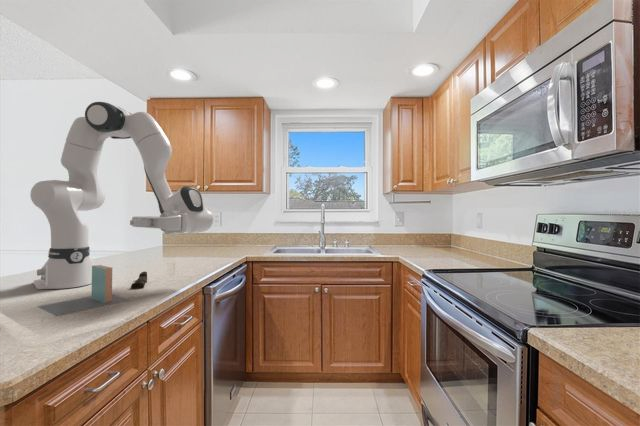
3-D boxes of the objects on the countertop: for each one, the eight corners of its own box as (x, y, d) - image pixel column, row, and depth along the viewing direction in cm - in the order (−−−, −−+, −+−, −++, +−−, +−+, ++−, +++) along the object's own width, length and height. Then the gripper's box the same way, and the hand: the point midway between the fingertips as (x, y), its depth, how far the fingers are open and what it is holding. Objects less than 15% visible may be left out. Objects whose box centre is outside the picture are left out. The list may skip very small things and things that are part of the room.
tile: (91, 298, 96) (91, 265, 96) (99, 297, 98) (99, 265, 98) (104, 302, 92) (104, 268, 92) (111, 301, 94) (112, 267, 94)
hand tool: (143, 293, 110) (143, 280, 110) (130, 294, 109) (130, 280, 109) (152, 281, 128) (152, 270, 128) (141, 282, 127) (141, 270, 127)
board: (37, 311, 88) (37, 306, 88) (108, 297, 103) (108, 292, 103) (57, 321, 80) (57, 316, 80) (130, 304, 96) (130, 300, 96)
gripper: (155, 212, 119) (116, 212, 107) (189, 213, 108) (149, 213, 96) (155, 229, 119) (115, 231, 107) (189, 232, 108) (149, 234, 96)
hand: (132, 222), depth 101 cm, fingers closed
